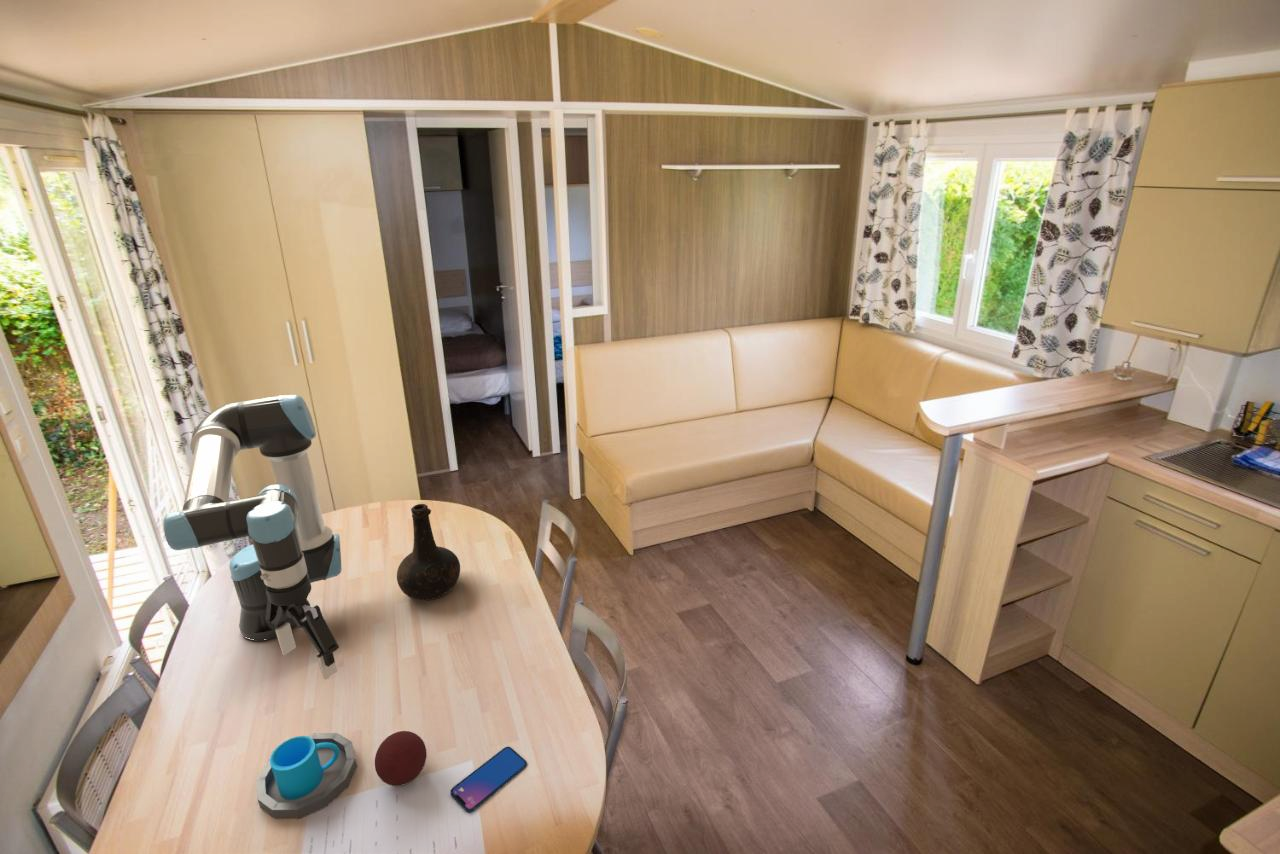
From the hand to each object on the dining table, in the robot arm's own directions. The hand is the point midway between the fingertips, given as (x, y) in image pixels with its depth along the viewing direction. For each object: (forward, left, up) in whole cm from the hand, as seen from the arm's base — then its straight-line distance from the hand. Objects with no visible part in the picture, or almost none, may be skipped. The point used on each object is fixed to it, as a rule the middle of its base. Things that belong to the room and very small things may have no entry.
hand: (309, 662), depth 133 cm
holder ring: (+4, -8, -22) cm, 24 cm away
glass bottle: (-21, +50, -22) cm, 58 cm away
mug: (+5, -8, -22) cm, 24 cm away
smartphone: (+37, +10, -23) cm, 45 cm away
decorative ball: (+21, +2, -22) cm, 31 cm away
